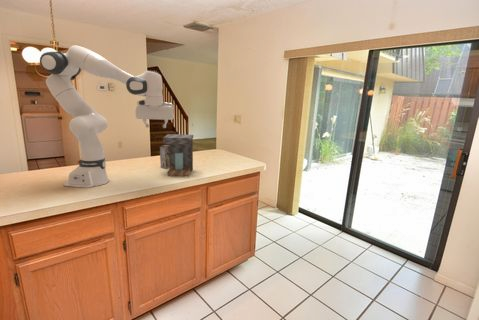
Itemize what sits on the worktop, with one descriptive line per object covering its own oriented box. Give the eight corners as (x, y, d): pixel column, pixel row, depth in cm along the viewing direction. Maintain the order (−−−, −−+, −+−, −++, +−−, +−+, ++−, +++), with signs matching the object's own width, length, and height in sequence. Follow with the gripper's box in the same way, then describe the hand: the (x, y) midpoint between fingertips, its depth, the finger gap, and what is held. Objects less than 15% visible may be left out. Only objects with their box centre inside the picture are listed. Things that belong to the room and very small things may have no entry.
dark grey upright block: (164, 176, 162) (163, 137, 156) (169, 169, 178) (168, 134, 172) (190, 176, 164) (190, 138, 158) (193, 170, 179) (193, 134, 173)
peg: (175, 173, 167) (175, 153, 164) (176, 171, 172) (176, 151, 169) (182, 173, 168) (182, 153, 165) (183, 172, 172) (183, 152, 169)
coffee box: (170, 165, 191) (169, 144, 187) (175, 166, 187) (175, 145, 184) (160, 167, 184) (159, 145, 180) (165, 168, 180) (164, 146, 176)
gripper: (175, 102, 141) (175, 127, 144) (137, 101, 139) (138, 126, 142) (173, 102, 134) (173, 128, 138) (133, 101, 133) (135, 127, 136)
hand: (155, 127), depth 140 cm, fingers open, 8 cm apart
